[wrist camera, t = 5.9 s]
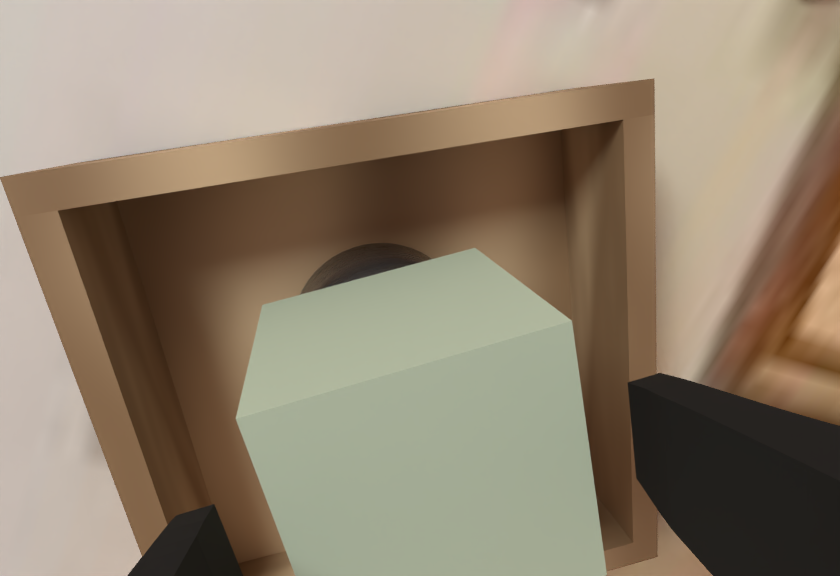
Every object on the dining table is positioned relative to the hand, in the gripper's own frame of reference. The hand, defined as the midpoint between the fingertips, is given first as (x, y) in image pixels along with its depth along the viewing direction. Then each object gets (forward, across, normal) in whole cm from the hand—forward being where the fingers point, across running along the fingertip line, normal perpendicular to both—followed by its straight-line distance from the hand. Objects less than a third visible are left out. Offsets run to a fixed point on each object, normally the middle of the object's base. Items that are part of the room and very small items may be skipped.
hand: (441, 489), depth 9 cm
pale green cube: (+4, 0, 0) cm, 4 cm away
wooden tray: (+9, 0, +1) cm, 9 cm away
